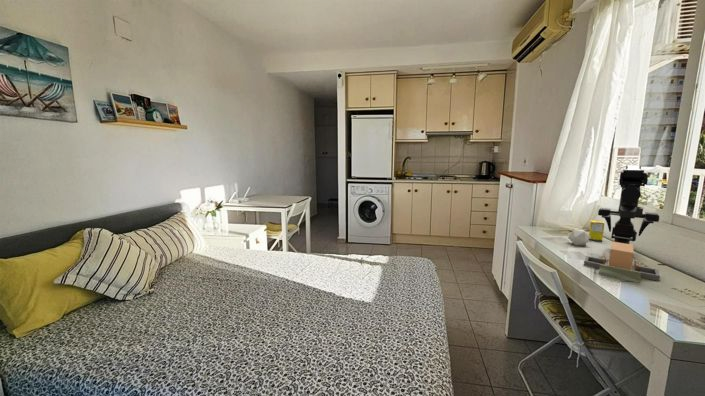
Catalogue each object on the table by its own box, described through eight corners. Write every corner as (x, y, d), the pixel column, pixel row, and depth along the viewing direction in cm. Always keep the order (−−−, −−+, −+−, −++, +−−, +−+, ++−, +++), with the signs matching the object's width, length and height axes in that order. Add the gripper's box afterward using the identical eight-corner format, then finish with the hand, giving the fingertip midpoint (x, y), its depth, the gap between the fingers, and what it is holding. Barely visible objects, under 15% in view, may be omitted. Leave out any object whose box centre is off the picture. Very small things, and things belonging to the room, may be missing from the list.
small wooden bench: (602, 257, 137) (603, 249, 136) (637, 263, 128) (639, 255, 128) (598, 273, 117) (600, 264, 117) (639, 282, 109) (641, 272, 108)
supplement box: (601, 239, 166) (604, 221, 164) (602, 241, 161) (604, 223, 159) (588, 237, 169) (590, 219, 167) (588, 239, 164) (591, 221, 163)
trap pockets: (585, 259, 133) (586, 255, 133) (657, 274, 117) (658, 269, 117) (583, 265, 126) (584, 260, 126) (659, 281, 111) (659, 276, 110)
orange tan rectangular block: (609, 259, 133) (612, 241, 132) (630, 263, 129) (633, 244, 127) (607, 269, 123) (610, 249, 121) (630, 273, 118) (633, 252, 117)
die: (589, 249, 150) (596, 233, 152) (574, 240, 151) (581, 224, 153) (577, 249, 158) (583, 234, 160) (562, 241, 159) (569, 226, 161)
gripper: (599, 198, 122) (594, 233, 124) (663, 203, 109) (656, 242, 111) (601, 195, 130) (596, 228, 132) (660, 200, 117) (654, 236, 119)
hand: (624, 233), depth 124 cm, fingers open, 9 cm apart
